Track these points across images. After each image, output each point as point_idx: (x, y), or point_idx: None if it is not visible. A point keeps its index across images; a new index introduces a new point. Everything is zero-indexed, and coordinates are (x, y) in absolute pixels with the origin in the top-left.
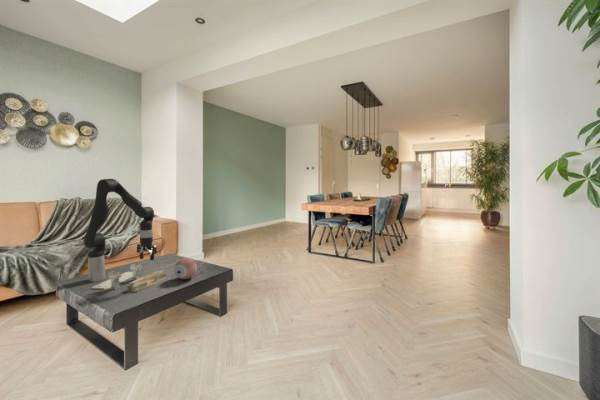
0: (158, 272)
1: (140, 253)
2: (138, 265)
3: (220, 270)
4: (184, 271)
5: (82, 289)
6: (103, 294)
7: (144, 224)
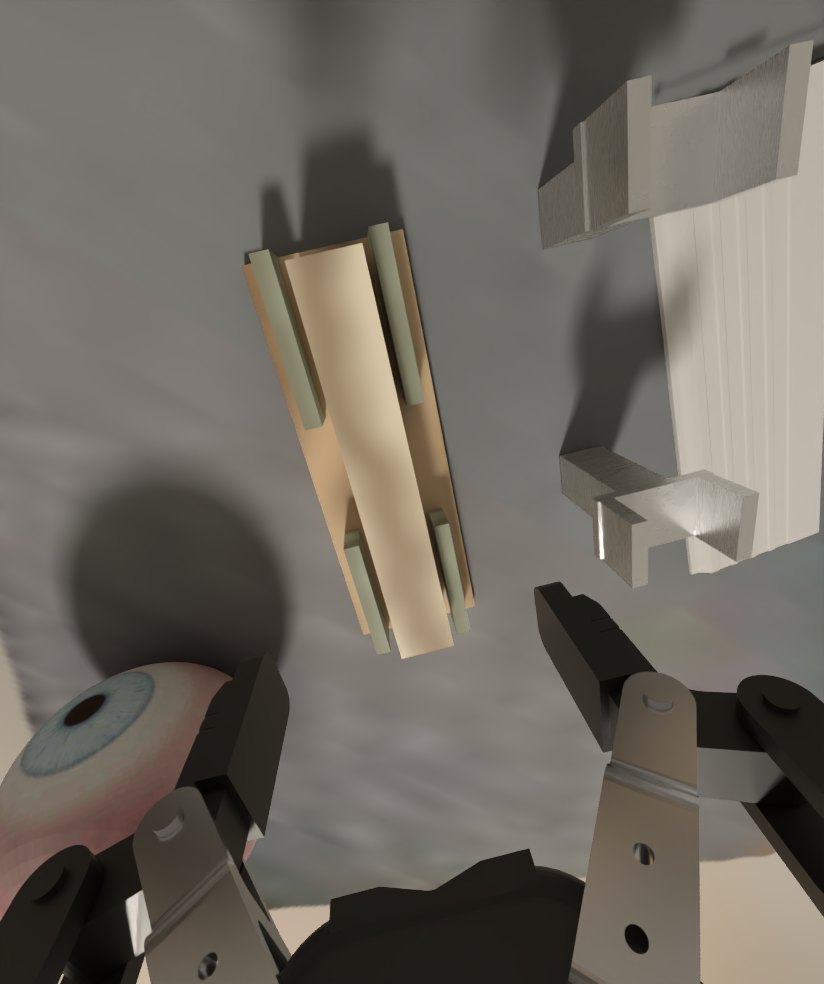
0: (397, 617)
1: (620, 695)
2: (630, 546)
3: None
4: (26, 745)
5: None
6: (530, 10)
7: None
